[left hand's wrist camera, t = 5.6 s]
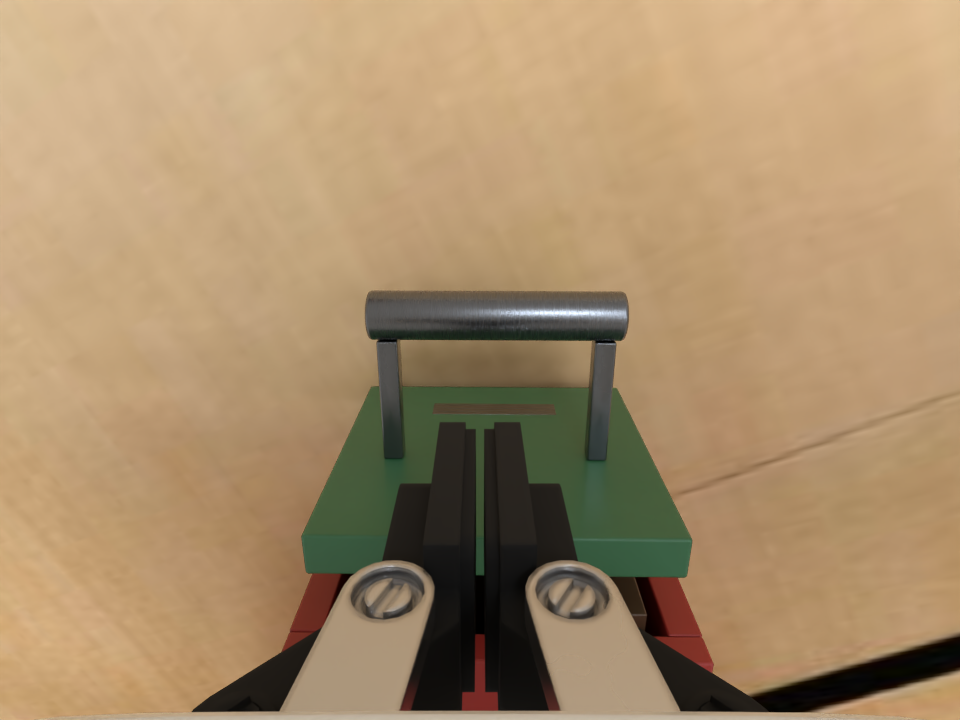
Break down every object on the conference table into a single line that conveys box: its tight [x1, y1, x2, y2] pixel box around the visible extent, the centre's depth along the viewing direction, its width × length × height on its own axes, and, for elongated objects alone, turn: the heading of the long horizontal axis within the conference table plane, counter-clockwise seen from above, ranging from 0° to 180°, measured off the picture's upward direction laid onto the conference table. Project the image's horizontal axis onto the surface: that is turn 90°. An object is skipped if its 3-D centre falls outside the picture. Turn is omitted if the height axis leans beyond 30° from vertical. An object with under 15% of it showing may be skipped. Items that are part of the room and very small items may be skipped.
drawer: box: [301, 291, 692, 634], centre depth 21 cm, size 23×10×9 cm, turn 0°
